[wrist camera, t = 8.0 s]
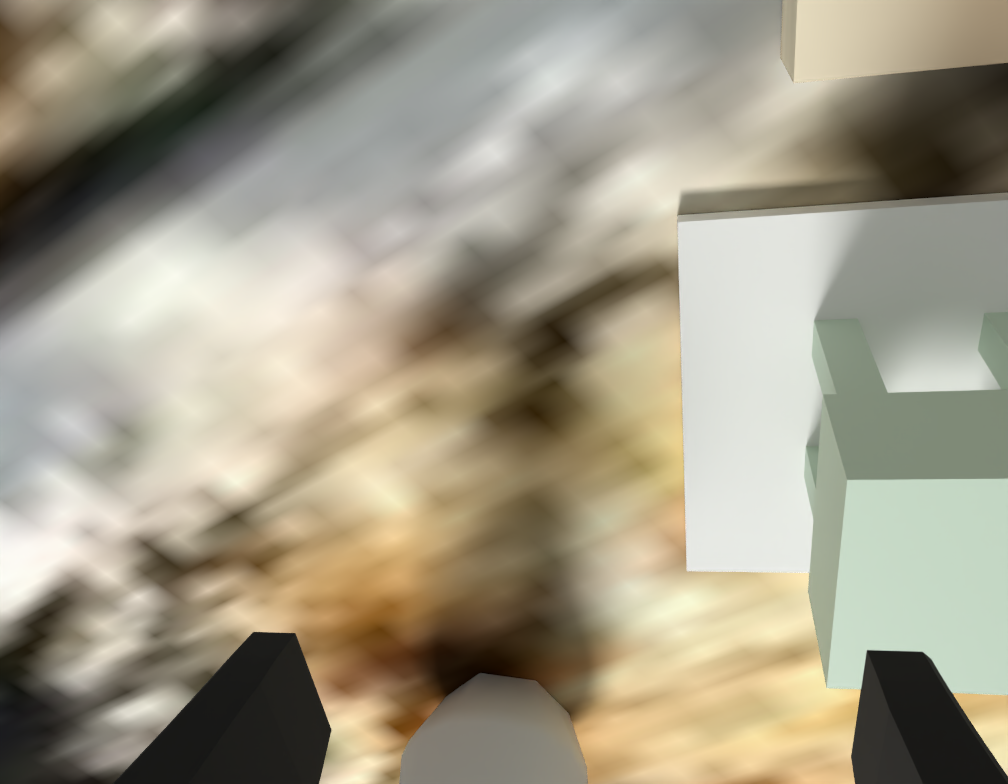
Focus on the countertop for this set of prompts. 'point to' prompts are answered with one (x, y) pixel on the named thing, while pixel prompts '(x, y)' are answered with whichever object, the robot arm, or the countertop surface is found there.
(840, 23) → the step
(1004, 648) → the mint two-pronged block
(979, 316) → the pad
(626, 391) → the countertop surface
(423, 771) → the salt shaker
